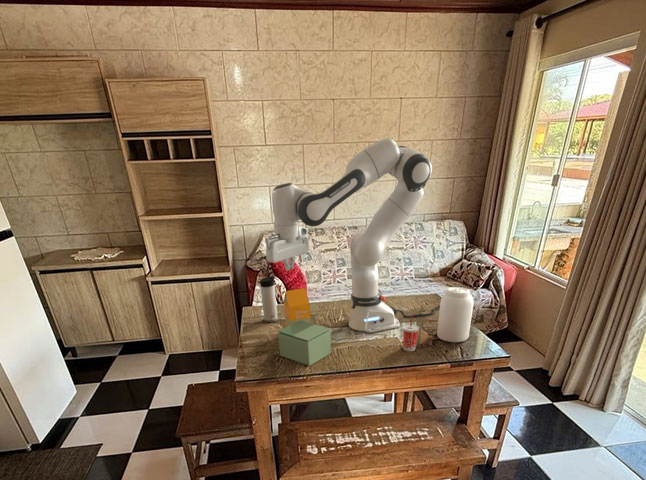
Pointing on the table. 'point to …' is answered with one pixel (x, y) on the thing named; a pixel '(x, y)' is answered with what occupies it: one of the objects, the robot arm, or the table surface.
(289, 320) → the orange juice
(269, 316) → the travel mug
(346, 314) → the table surface
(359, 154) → the robot arm
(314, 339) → the storage box
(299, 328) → the flap
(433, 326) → the table surface
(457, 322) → the white upright cylinder
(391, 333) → the table surface
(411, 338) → the beverage cup
